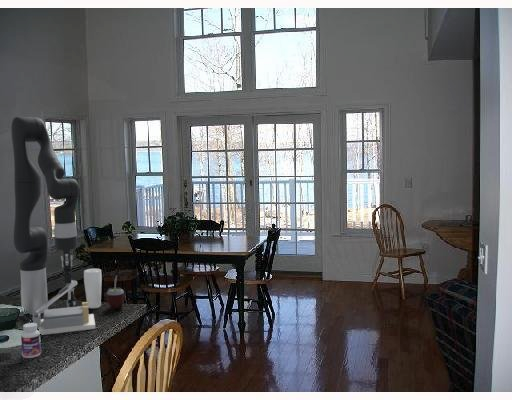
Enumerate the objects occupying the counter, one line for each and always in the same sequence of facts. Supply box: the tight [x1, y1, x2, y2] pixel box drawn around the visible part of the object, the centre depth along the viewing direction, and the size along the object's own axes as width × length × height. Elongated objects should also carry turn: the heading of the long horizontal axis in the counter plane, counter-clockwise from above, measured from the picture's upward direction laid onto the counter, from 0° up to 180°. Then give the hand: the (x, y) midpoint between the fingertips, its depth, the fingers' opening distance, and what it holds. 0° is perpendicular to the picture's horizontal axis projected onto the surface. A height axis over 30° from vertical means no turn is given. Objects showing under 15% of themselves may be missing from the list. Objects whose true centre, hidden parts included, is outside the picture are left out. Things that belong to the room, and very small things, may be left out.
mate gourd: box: [105, 274, 126, 312], centre depth 215 cm, size 8×8×15 cm
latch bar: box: [34, 280, 78, 317], centre depth 194 cm, size 18×4×2 cm
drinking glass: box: [83, 268, 103, 309], centre depth 218 cm, size 7×7×15 cm
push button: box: [63, 279, 78, 308], centre depth 220 cm, size 7×5×10 cm
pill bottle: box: [20, 322, 42, 359], centre depth 169 cm, size 5×5×10 cm
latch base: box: [32, 301, 96, 336], centre depth 195 cm, size 22×13×7 cm, turn 109°
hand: (68, 282), depth 195 cm, fingers closed
